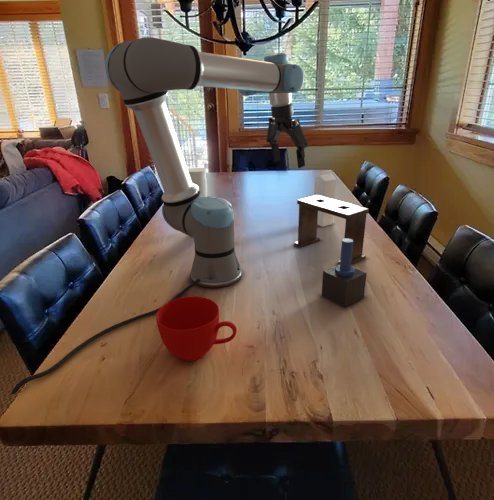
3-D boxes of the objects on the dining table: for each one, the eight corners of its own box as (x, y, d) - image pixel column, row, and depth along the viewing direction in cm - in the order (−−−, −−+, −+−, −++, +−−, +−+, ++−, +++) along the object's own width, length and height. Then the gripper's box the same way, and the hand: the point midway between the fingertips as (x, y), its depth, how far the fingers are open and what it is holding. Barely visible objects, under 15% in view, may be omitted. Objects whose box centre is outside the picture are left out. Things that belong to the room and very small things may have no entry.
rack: (345, 267, 118) (350, 215, 111) (294, 244, 135) (295, 199, 128) (365, 258, 123) (371, 209, 116) (313, 238, 140) (315, 194, 134)
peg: (343, 301, 98) (349, 245, 91) (329, 294, 101) (333, 239, 95) (356, 295, 101) (362, 240, 94) (341, 288, 104) (346, 235, 98)
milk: (332, 224, 155) (337, 171, 146) (322, 227, 152) (325, 172, 143) (322, 220, 159) (326, 168, 151) (312, 222, 156) (315, 170, 148)
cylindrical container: (206, 237, 143) (202, 172, 133) (188, 236, 145) (183, 171, 135) (212, 230, 150) (208, 168, 140) (195, 229, 151) (190, 167, 141)
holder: (344, 307, 96) (346, 282, 93) (321, 295, 102) (322, 271, 99) (363, 297, 100) (366, 272, 97) (340, 286, 106) (342, 262, 103)
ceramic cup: (227, 380, 73) (224, 338, 69) (149, 365, 77) (143, 324, 73) (246, 340, 84) (245, 302, 80) (178, 329, 88) (173, 292, 85)
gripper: (315, 102, 120) (320, 165, 131) (267, 100, 138) (275, 155, 149) (298, 108, 117) (305, 173, 127) (251, 105, 135) (260, 161, 146)
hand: (289, 163), depth 138 cm, fingers open, 13 cm apart
